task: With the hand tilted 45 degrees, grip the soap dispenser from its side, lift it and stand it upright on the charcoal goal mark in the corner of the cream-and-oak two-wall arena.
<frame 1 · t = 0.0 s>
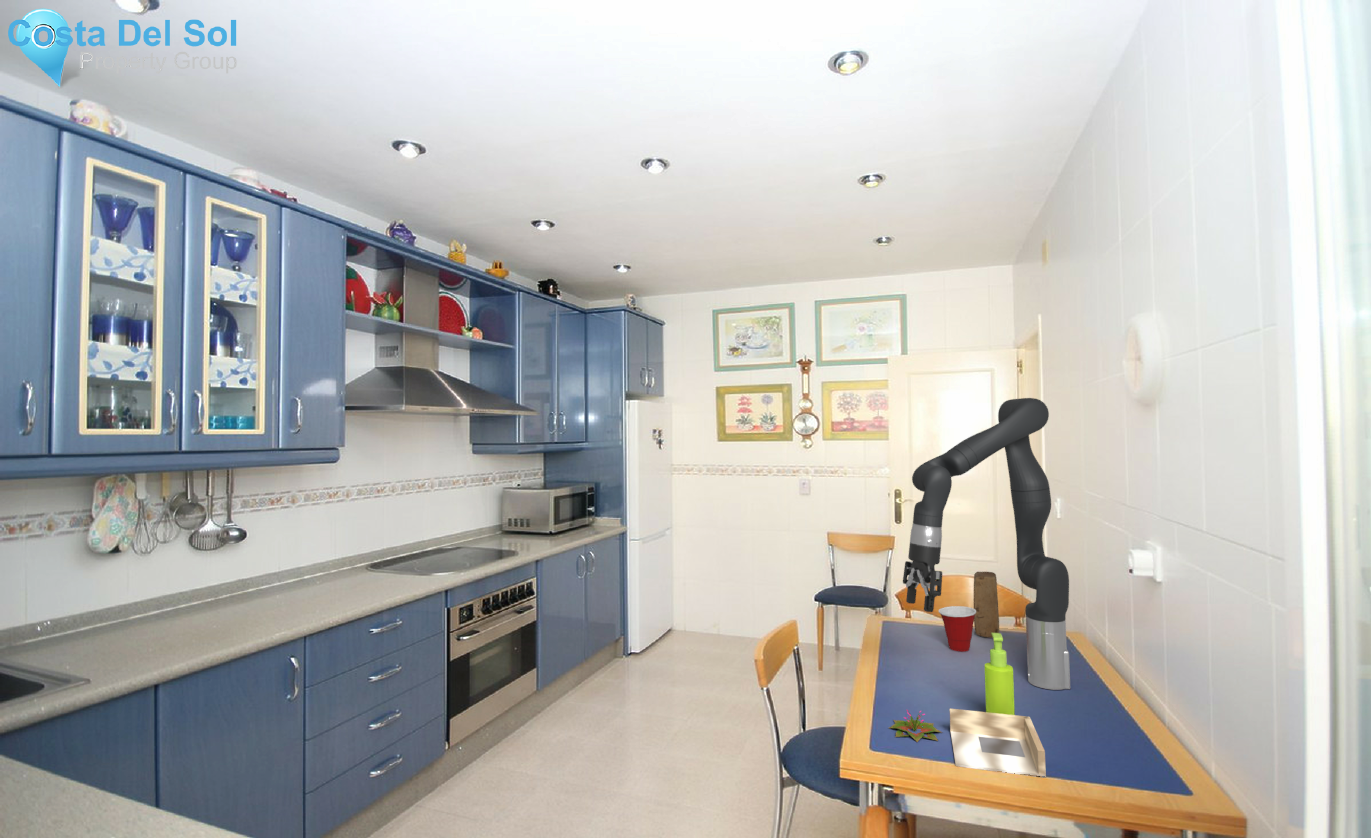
hand: (919, 607, 164), 22 cm above the table, tool pointing down, fingers open, 8 cm apart
block: (987, 634, 213), on the table
corner arena: (994, 752, 134), on the table
soap dispenser: (1000, 724, 148), on the table
lily flower: (915, 733, 145), on the table
plastic cup: (958, 649, 199), on the table
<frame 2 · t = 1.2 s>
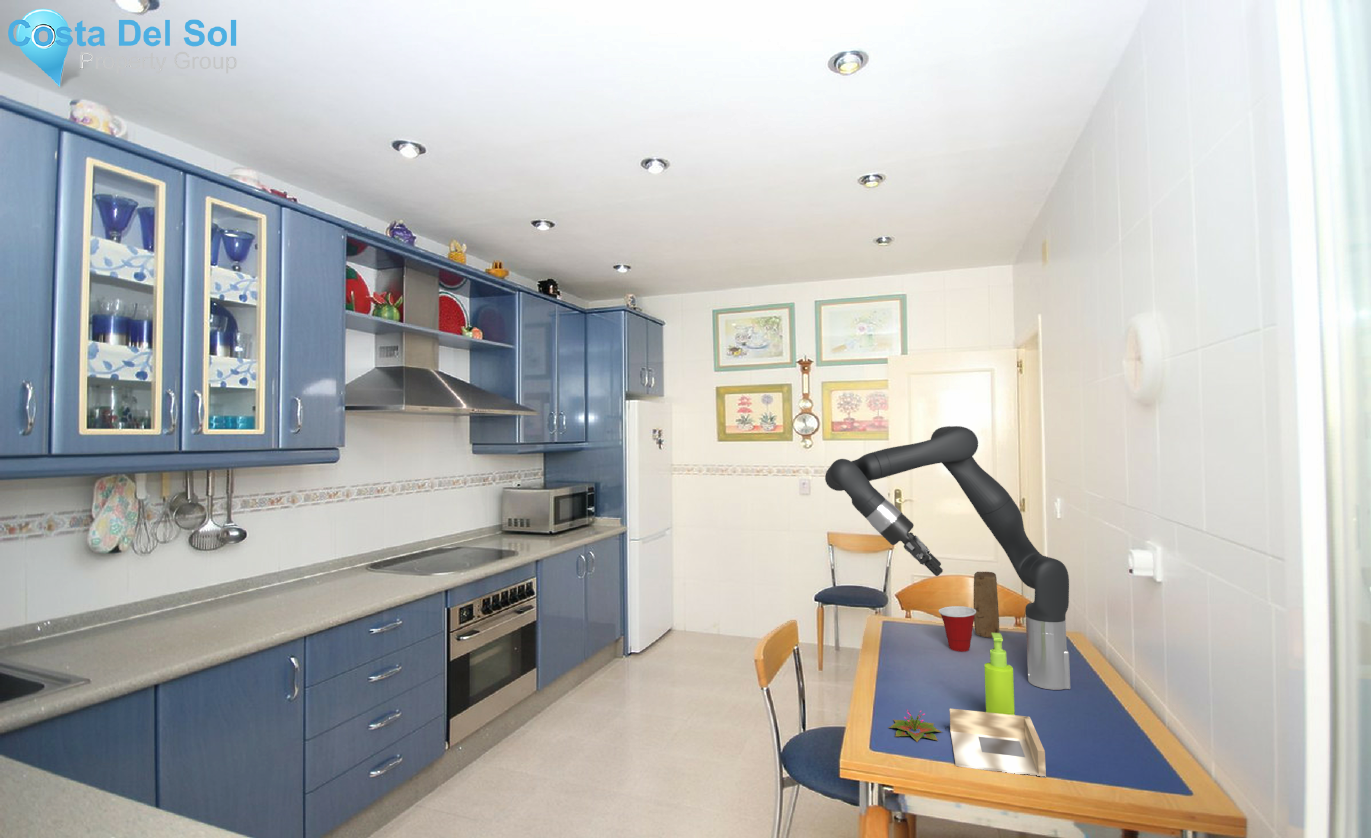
hand: (939, 570, 159), 33 cm above the table, tool tilted 45°, fingers open, 8 cm apart
nothing on the table moved.
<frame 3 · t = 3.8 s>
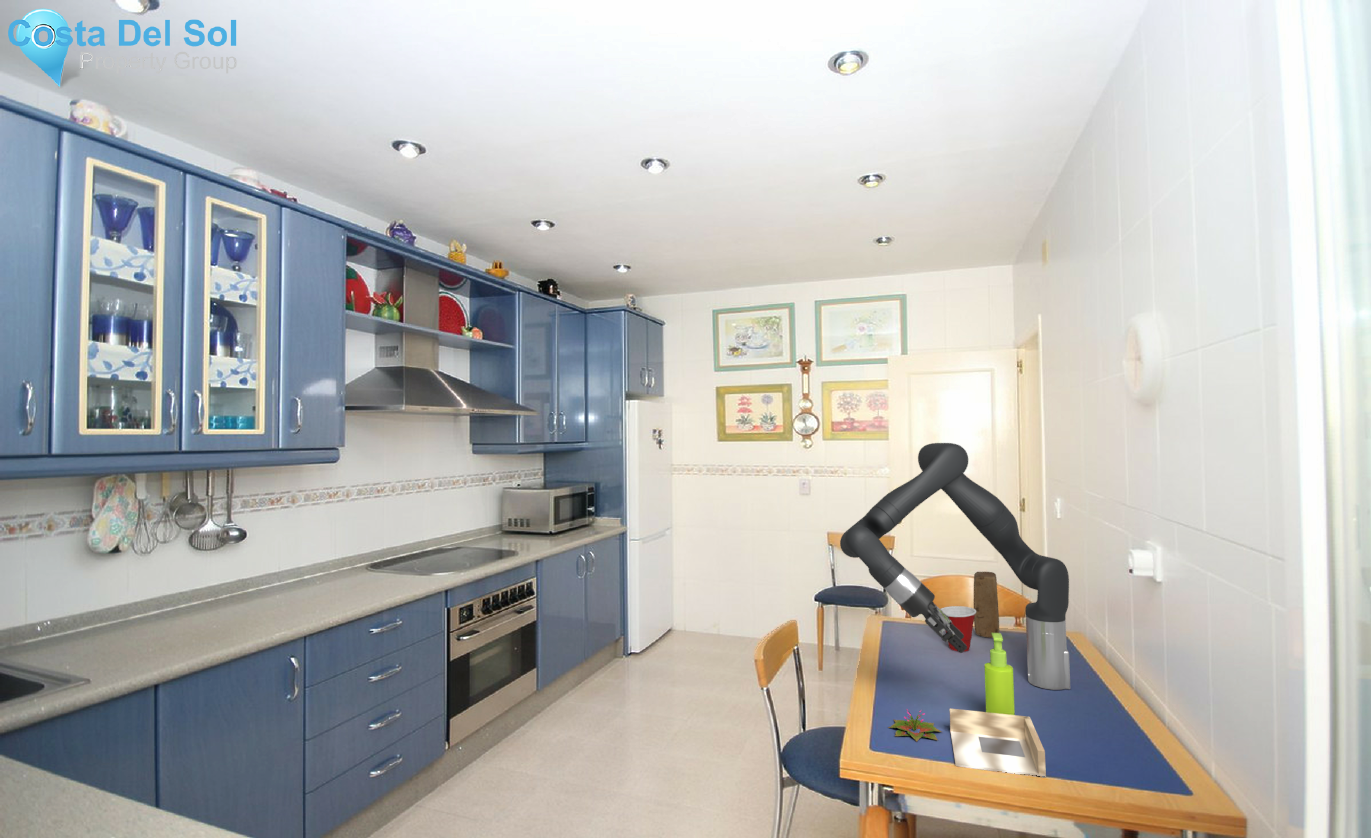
hand: (962, 644, 150), 17 cm above the table, tool tilted 45°, fingers open, 8 cm apart
nothing on the table moved.
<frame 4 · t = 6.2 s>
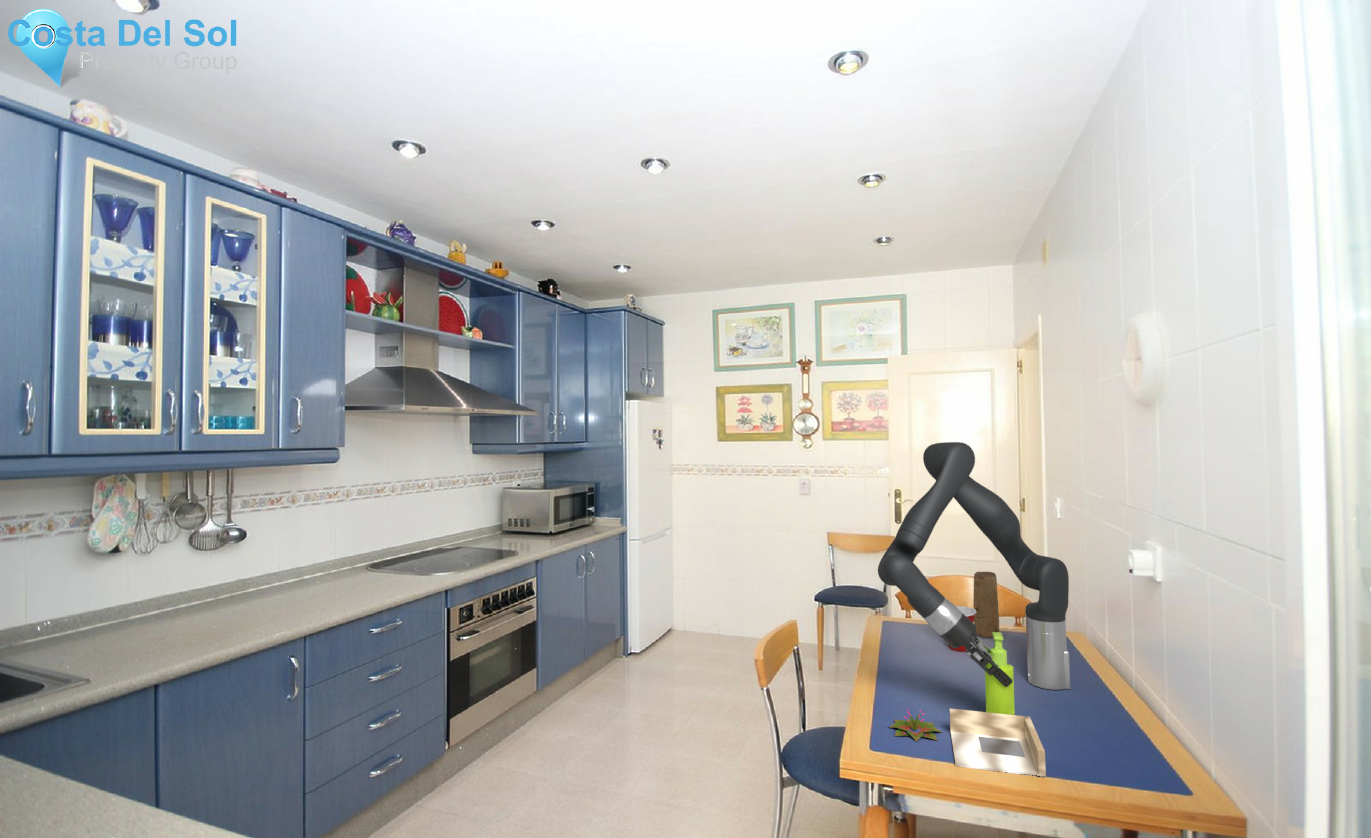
hand: (1007, 678, 147), 10 cm above the table, tool tilted 45°, fingers closed on soap dispenser, 6 cm apart
soap dispenser: (1000, 724, 148), on the table, touching gripper
everything else where it was.
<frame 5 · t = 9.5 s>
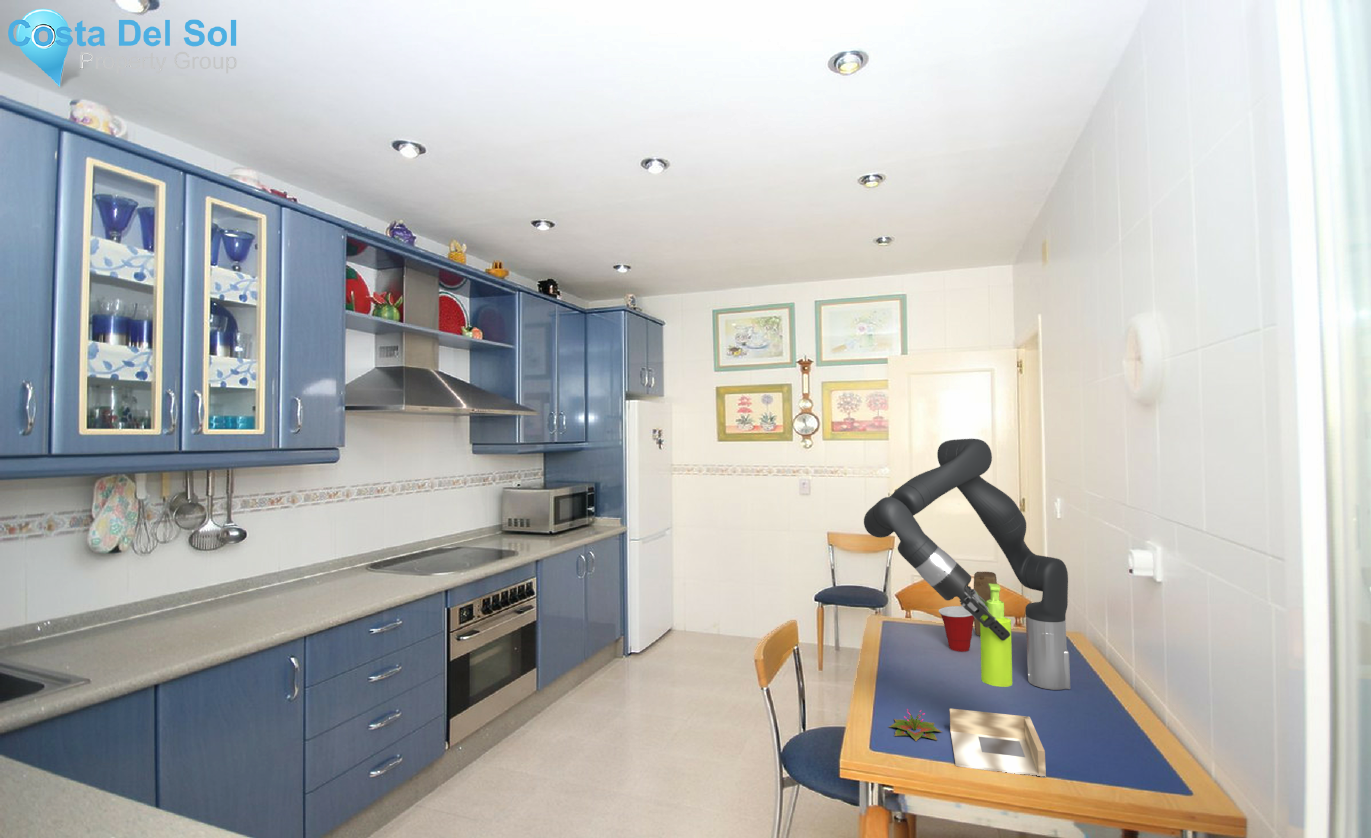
hand: (1004, 632, 136), 24 cm above the table, tool tilted 45°, fingers closed on soap dispenser, 6 cm apart
soap dispenser: (996, 682, 136), point 14 cm above the table, touching gripper
everything else where it was.
when the fingers open (12 cm above the table, at t = 12.9 s): soap dispenser drops 1 cm, resting on corner arena.
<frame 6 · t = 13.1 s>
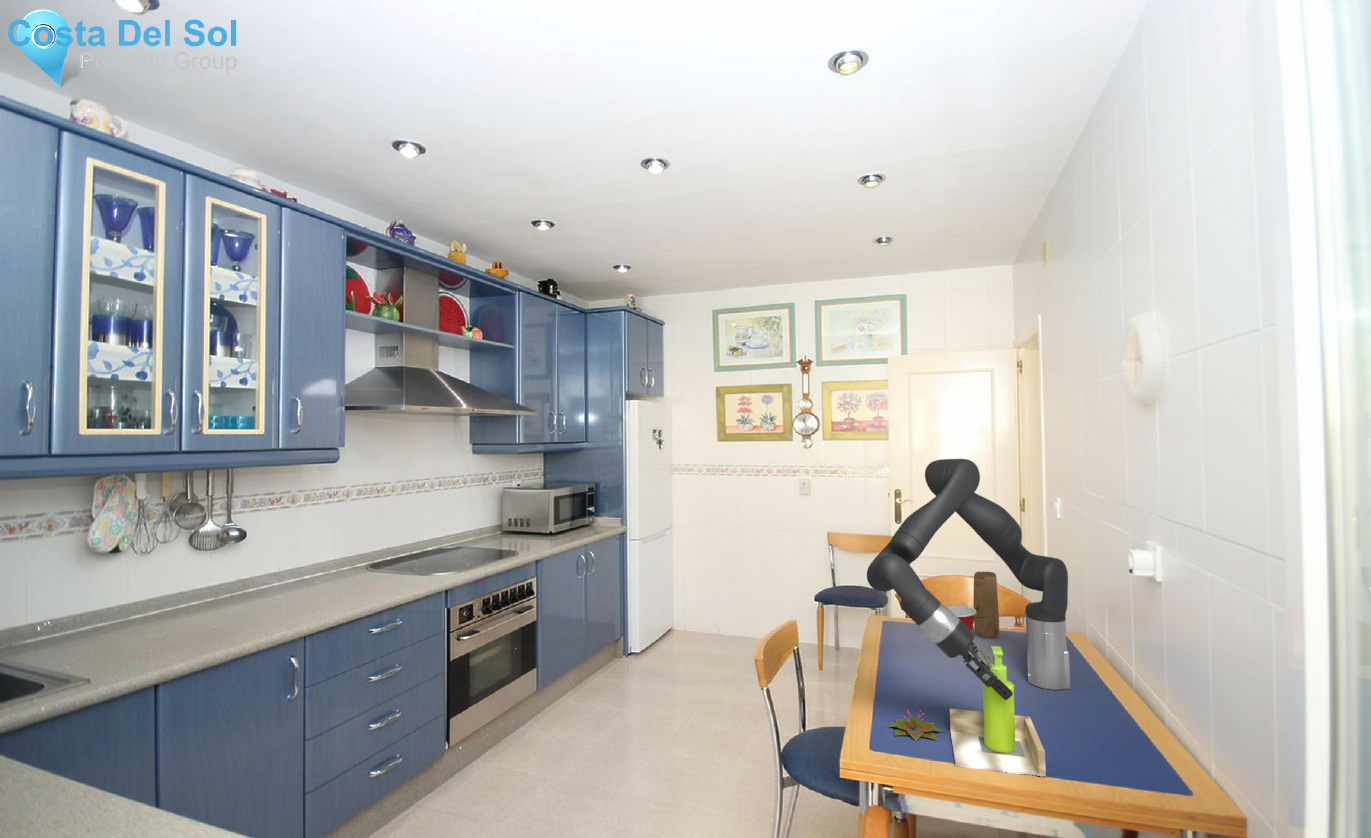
hand: (1006, 689, 136), 13 cm above the table, tool tilted 45°, fingers open, 7 cm apart
soap dispenser: (999, 746, 136), resting on corner arena
everything else where it was.
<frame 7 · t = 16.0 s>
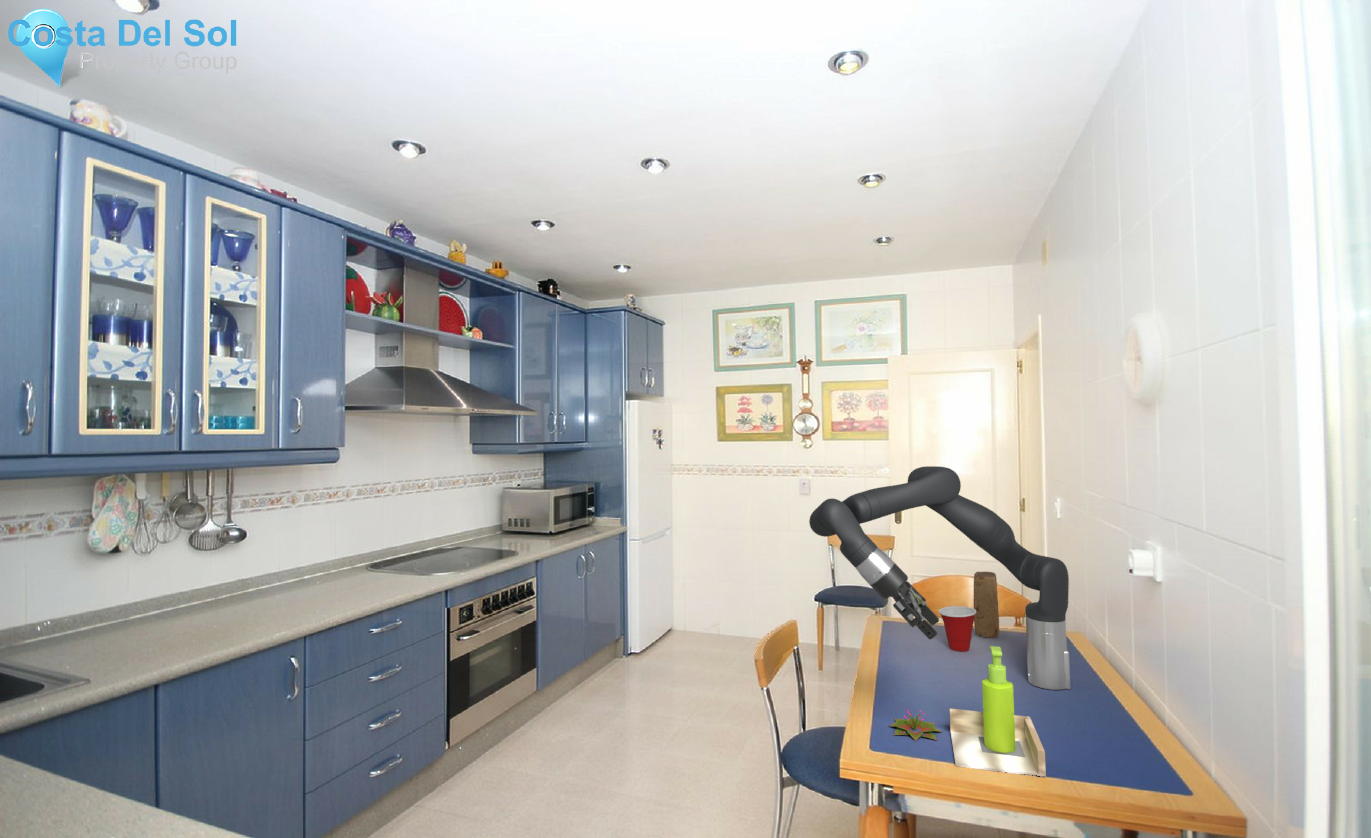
hand: (935, 629, 142), 23 cm above the table, tool tilted 45°, fingers open, 8 cm apart
nothing on the table moved.
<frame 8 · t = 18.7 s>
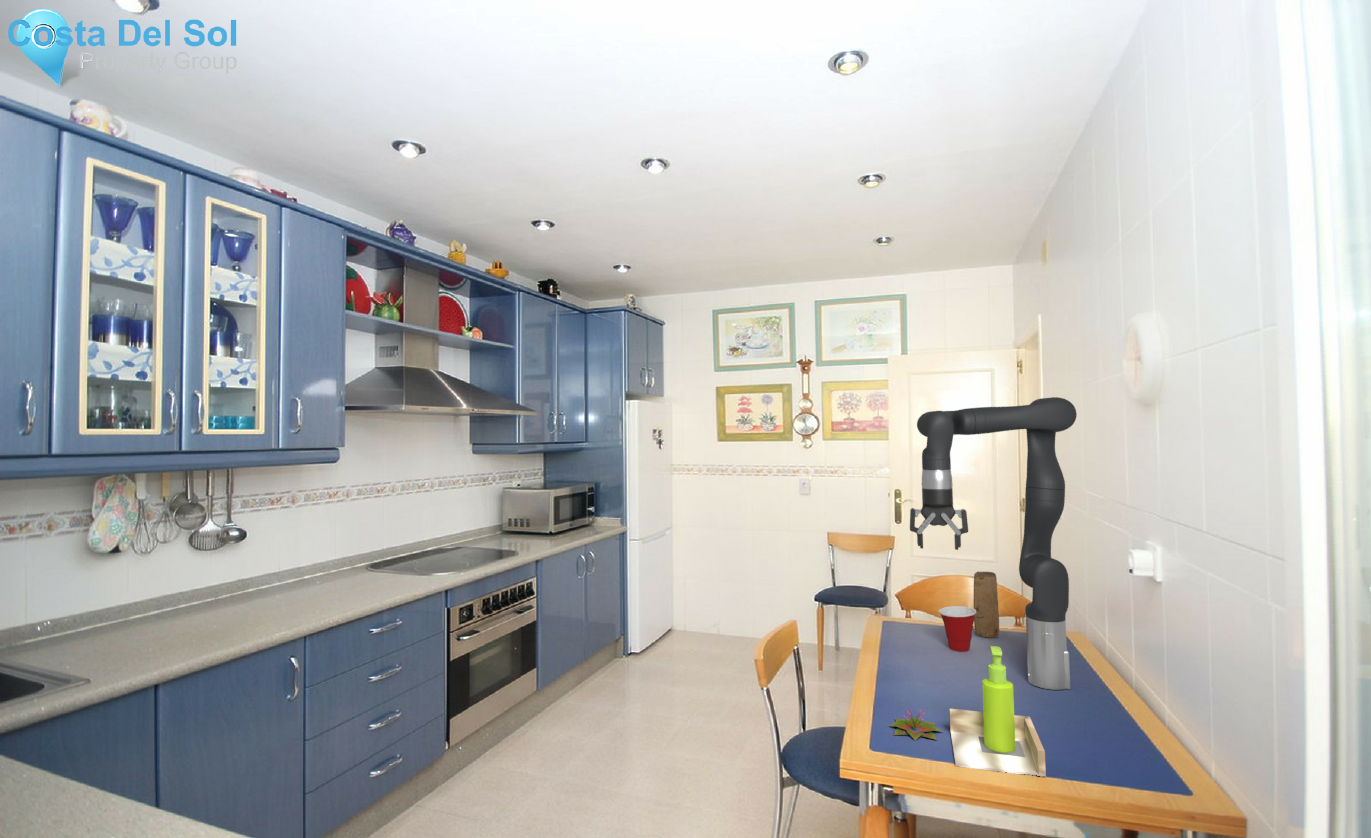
hand: (939, 548, 170), 36 cm above the table, tool pointing down, fingers open, 8 cm apart
nothing on the table moved.
at the end: soap dispenser 1.0 cm from the target spot on the corner arena, point 0.4 cm above the corner arena's base; soap dispenser tilted 0°; the gripper is holding nothing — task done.
